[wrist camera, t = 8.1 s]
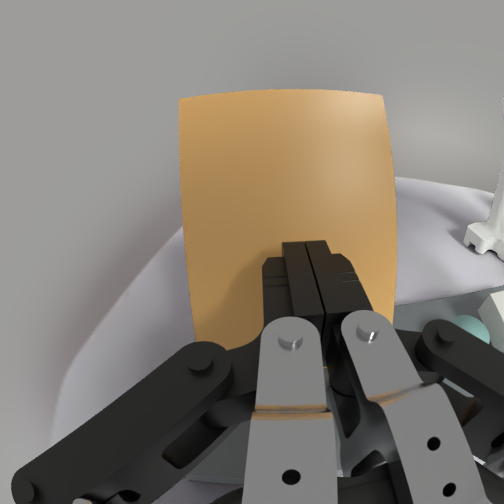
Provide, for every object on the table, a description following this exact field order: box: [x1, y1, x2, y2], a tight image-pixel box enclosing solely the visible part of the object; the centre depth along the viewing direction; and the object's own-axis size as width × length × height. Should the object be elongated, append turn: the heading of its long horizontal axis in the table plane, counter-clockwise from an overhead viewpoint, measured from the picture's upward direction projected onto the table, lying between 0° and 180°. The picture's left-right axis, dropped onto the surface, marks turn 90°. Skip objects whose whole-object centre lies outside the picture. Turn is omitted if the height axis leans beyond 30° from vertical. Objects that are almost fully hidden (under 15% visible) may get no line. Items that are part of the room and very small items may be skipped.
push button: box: [452, 315, 490, 344], centre depth 12 cm, size 3×3×2 cm
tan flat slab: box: [179, 89, 397, 389], centre depth 11 cm, size 9×2×14 cm, turn 90°
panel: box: [184, 285, 504, 484], centre depth 13 cm, size 28×10×2 cm, turn 90°
